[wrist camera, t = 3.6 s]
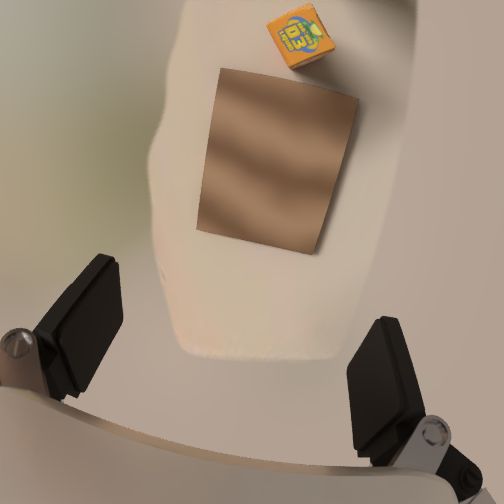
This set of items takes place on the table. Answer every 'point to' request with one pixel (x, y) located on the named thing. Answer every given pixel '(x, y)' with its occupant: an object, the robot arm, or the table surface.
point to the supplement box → (301, 36)
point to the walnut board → (272, 159)
